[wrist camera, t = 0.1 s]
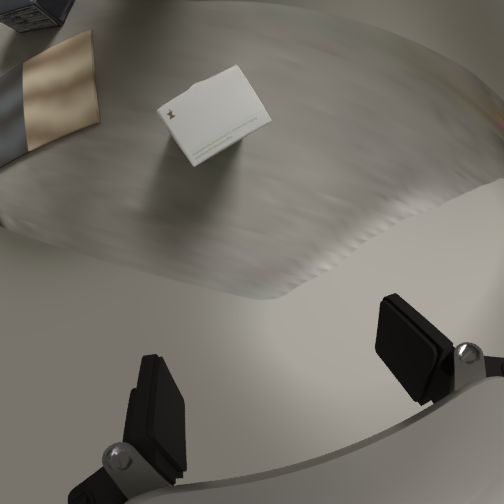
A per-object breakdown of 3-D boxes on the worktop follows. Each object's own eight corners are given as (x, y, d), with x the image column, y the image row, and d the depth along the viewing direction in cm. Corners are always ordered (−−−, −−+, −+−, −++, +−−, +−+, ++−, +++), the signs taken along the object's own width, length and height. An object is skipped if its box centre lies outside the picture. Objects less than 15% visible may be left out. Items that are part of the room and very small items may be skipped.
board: (-23, 98, 23) (-26, 97, 22) (92, 31, 26) (90, 29, 25) (-17, 177, 29) (-20, 178, 28) (100, 122, 32) (98, 121, 31)
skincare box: (194, 164, 37) (190, 173, 22) (170, 126, 34) (150, 110, 20) (246, 133, 37) (275, 123, 22) (222, 94, 34) (236, 61, 20)
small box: (78, -5, 22) (55, -32, 12) (63, 26, 24) (34, 3, 14) (33, 4, 19) (6, -16, 10) (19, 34, 21) (-12, 18, 12)
